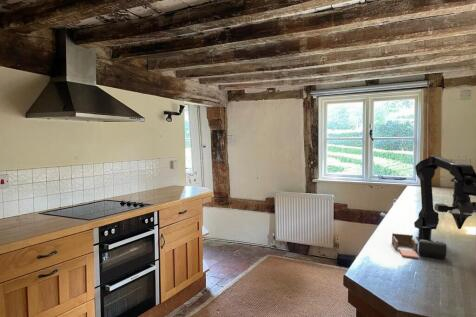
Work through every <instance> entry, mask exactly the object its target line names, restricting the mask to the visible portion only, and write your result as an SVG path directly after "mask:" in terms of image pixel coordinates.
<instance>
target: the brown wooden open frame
mask: <svg viewBox="0 0 476 317" xmlns="http://www.w3.org/2000/svg"><path fill="white" fill-rule="evenodd" d="M391 235H392V236H391V245H392V247H393V248H394V249H395V251H398V249H399V246H409V247H411V249H412V251H416V253H417V254H418V251H419V242H417V241H416V240H415V239H414V236H413V234H406V233H405V234H401V233H393V232H392V234H391ZM398 252H399V251H398Z"/></svg>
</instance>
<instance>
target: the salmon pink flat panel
mask: <svg viewBox="0 0 476 317" xmlns="http://www.w3.org/2000/svg"><path fill="white" fill-rule="evenodd" d="M398 252H399V253H400V254H401V256H402V257H405V258H412V259H413V258H414V259H420V255H418V254H419V253H418V252H417V253H416V251H414V250H409V249H402V248H401V249H399V248H398Z"/></svg>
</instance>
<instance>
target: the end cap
mask: <svg viewBox="0 0 476 317" xmlns="http://www.w3.org/2000/svg"><path fill="white" fill-rule="evenodd" d="M418 254H419V256H424V257H430V258H436V259H439V260H440V259H441V260H445V259H446V258H447V243H444V242H443V241H433V242H431V241H428V240H424V239H421V240H419V241H418Z"/></svg>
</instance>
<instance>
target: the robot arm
mask: <svg viewBox="0 0 476 317" xmlns="http://www.w3.org/2000/svg"><path fill="white" fill-rule="evenodd" d="M439 168H441V169H444V170H445V171H448V173H449V174H450V175H452V176H453V178H451V179H450V182H453V194H452V203H451V206H449V205H447V204H445V203H435V204H434V198H433V196H434V195H433V183H432V182H433V178H434V177H435V175H436V170H439ZM415 174H416V176H417V177H418V179H419V180H420V195H421V197H420V199H421V209H420V211H419V212H418V218H417V219H416V220H415V221H414V222H413V225H414V228H416V229H418V233H417V236H415V239H416V240H418V242H419V240H421V239H424V240H428V241H431V242H434V240H433V239H432V230H437V227H438V225H439V222H440V219H439V213H447V212H448V213H450V214H451V215H452V217H453V220H454V222H455V224H456V227H457V229H458V230H461V229H462V227H463V225H464V223H465V222H466V220H467V219H468V218H469V217H472V216H473V214H474V213H476V201H472V202H471V197H470V196H472V197H476V170H475V169H474V166H473V165H472V164H467V163H460V162H459V163H457V162H455V161H452V160H449V159H447V158H444V157H442V156H440V155H430V156H428V157H427V158H424V159H422V160H420V161H419V162H418V163H417V164H416V165H415Z"/></svg>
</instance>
